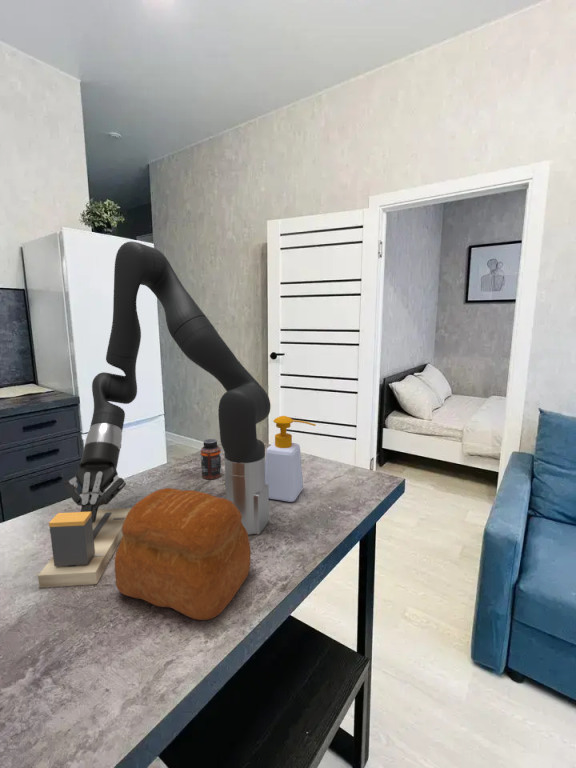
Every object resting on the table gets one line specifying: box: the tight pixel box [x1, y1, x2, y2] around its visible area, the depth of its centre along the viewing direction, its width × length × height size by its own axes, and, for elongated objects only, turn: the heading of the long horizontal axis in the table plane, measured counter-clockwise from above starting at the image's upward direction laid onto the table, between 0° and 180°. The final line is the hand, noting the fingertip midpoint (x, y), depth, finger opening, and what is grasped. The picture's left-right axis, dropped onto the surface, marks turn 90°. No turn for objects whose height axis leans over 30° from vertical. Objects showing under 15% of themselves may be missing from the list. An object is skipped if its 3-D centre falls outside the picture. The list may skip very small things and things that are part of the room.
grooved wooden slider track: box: [37, 507, 132, 589], centre depth 83 cm, size 24×10×3 cm, turn 6°
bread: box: [114, 487, 252, 621], centre depth 71 cm, size 18×21×17 cm
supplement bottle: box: [200, 438, 222, 480], centre depth 119 cm, size 6×6×11 cm
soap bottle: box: [265, 415, 317, 503], centre depth 106 cm, size 10×14×22 cm
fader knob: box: [48, 511, 95, 566], centre depth 74 cm, size 4×6×9 cm, turn 96°
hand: (86, 524), depth 80 cm, fingers closed
